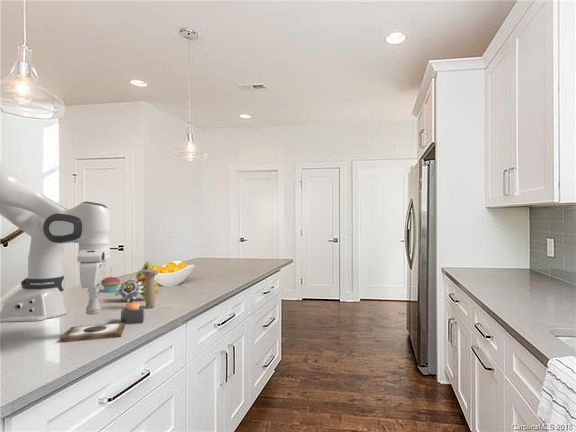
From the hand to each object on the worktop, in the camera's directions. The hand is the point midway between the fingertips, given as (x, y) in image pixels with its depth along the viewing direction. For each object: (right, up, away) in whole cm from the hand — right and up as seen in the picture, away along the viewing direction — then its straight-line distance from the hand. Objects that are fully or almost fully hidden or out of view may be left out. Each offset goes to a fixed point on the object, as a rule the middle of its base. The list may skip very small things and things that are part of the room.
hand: (94, 297), depth 118 cm
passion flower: (-8, -12, +49) cm, 51 cm away
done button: (+6, -8, +15) cm, 18 cm away
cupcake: (-28, -12, +70) cm, 76 cm away
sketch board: (0, -11, 0) cm, 11 cm away
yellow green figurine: (-9, -12, +67) cm, 68 cm away
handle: (+4, -12, +35) cm, 37 cm away
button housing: (+6, -11, +15) cm, 20 cm away
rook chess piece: (0, -5, 0) cm, 5 cm away
